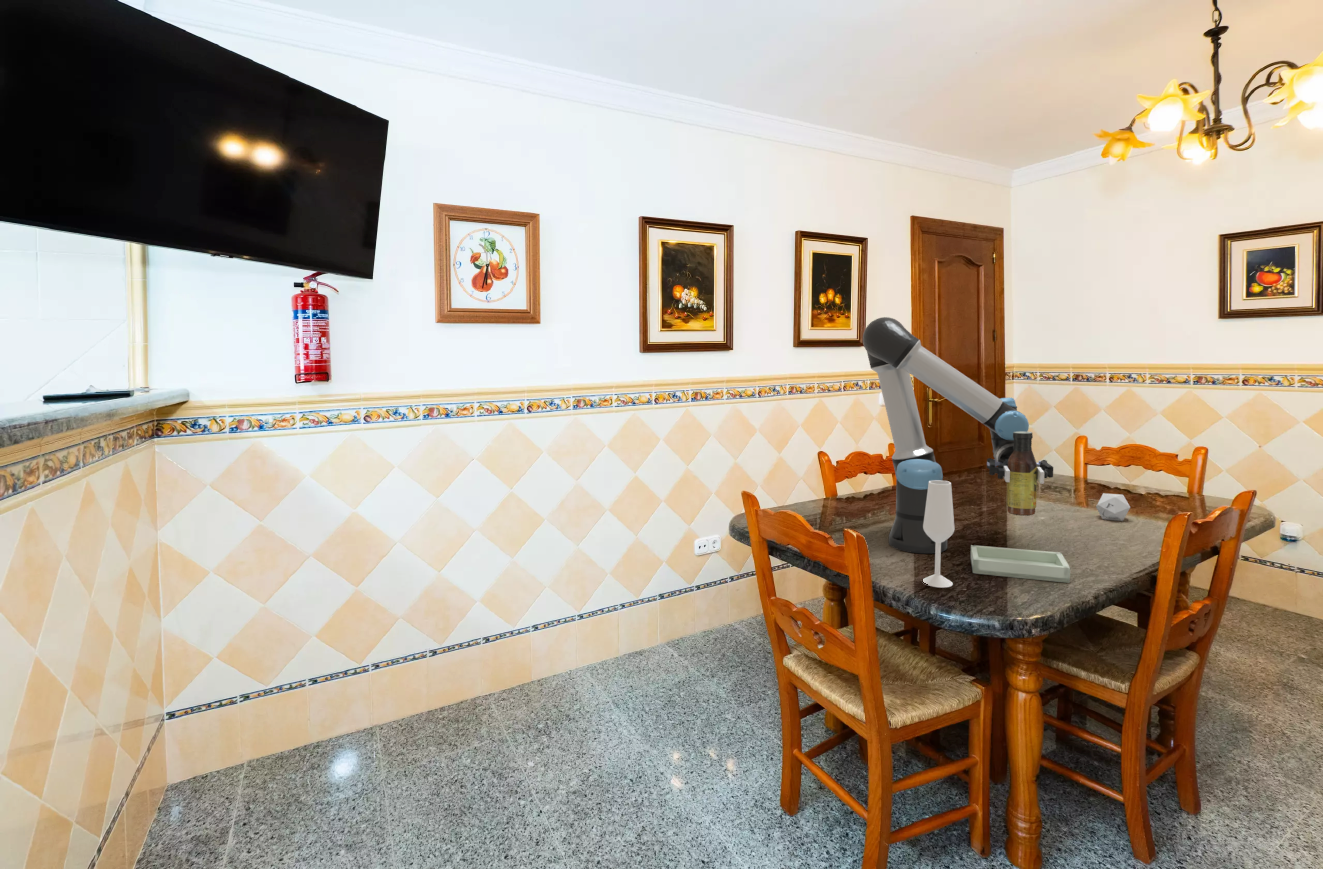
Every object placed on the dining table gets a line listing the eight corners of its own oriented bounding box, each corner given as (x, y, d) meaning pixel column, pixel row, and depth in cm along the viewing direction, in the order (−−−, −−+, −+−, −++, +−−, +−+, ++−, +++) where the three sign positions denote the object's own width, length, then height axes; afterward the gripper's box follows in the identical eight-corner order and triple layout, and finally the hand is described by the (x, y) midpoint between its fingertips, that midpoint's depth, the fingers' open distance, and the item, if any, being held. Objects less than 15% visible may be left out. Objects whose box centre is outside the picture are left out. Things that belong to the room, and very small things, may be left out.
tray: (972, 573, 152) (973, 559, 151) (970, 558, 162) (970, 545, 162) (1069, 583, 144) (1070, 568, 143) (1060, 566, 154) (1060, 552, 154)
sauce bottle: (1040, 517, 147) (1043, 434, 144) (1011, 516, 148) (1014, 434, 146) (1029, 510, 153) (1033, 430, 151) (1002, 509, 155) (1005, 430, 152)
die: (1088, 517, 198) (1091, 498, 192) (1107, 502, 200) (1110, 482, 194) (1115, 531, 192) (1119, 512, 186) (1133, 516, 194) (1138, 496, 188)
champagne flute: (915, 579, 149) (917, 481, 145) (937, 575, 151) (940, 478, 148) (936, 589, 142) (939, 486, 139) (959, 584, 145) (962, 483, 142)
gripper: (1054, 475, 162) (1072, 495, 142) (972, 472, 170) (978, 490, 149) (1056, 446, 161) (1074, 462, 141) (973, 445, 169) (979, 460, 148)
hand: (1025, 477), depth 145 cm, fingers closed on sauce bottle, 6 cm apart
